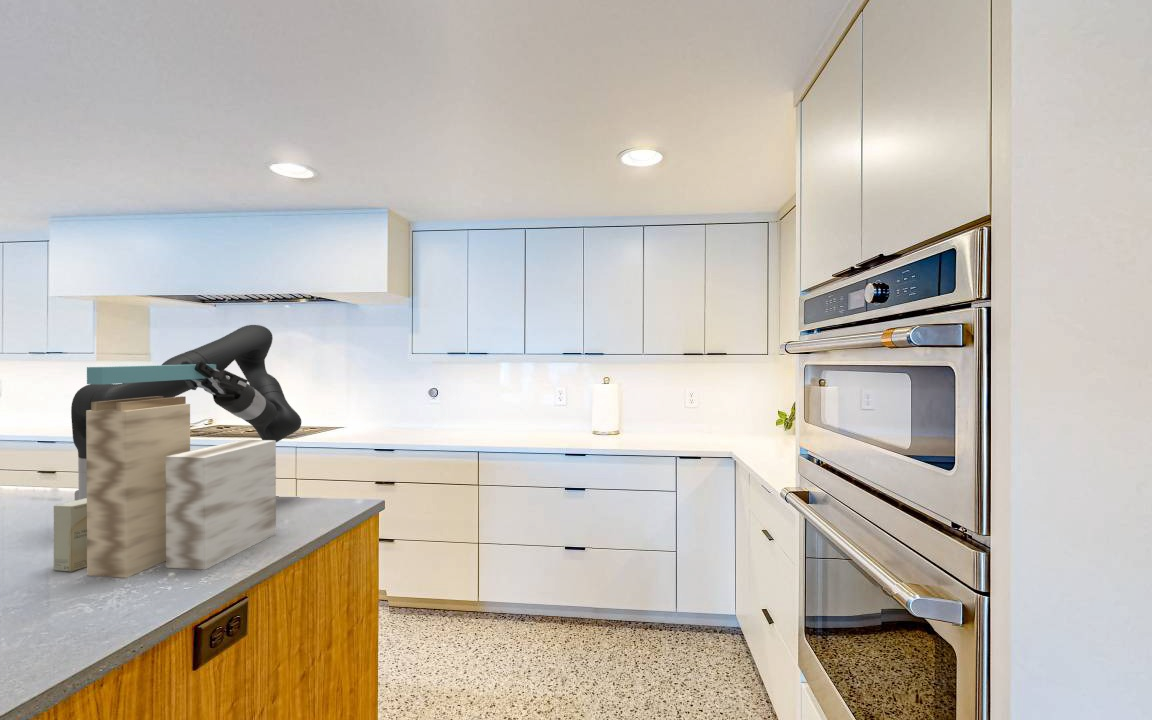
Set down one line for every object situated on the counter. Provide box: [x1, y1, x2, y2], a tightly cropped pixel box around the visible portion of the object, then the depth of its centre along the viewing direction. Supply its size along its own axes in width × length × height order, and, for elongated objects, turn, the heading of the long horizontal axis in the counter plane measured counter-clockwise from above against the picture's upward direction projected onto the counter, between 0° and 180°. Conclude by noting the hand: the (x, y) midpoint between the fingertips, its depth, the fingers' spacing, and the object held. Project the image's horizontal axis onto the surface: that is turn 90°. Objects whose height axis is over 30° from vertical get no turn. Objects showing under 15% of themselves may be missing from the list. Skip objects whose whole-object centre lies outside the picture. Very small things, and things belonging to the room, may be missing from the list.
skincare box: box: [53, 498, 87, 572], centre depth 103 cm, size 6×4×12 cm
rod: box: [86, 364, 216, 385], centre depth 108 cm, size 3×26×3 cm, turn 174°
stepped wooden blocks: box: [86, 395, 277, 579], centre depth 110 cm, size 19×25×32 cm
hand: (190, 365), depth 116 cm, fingers closed on rod, 3 cm apart
